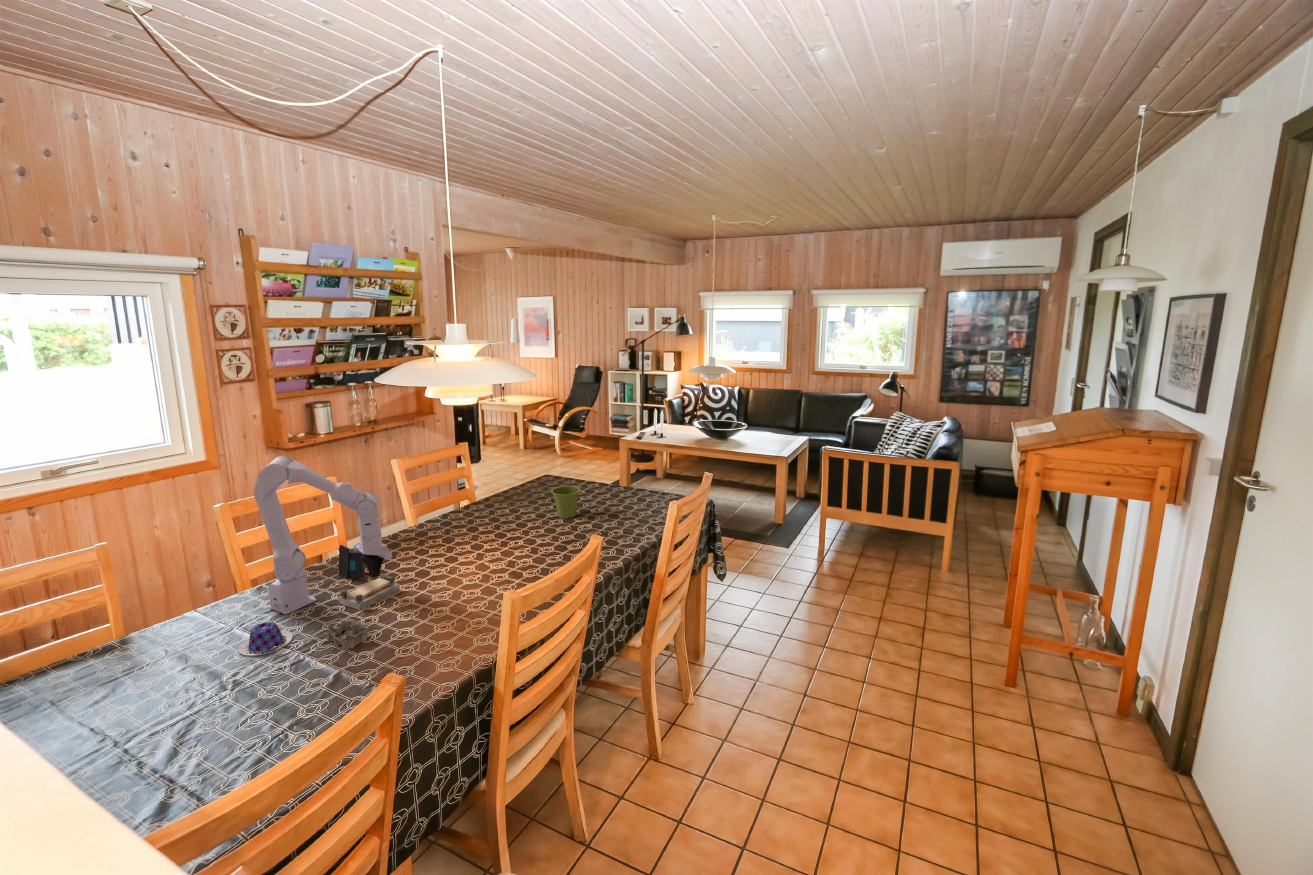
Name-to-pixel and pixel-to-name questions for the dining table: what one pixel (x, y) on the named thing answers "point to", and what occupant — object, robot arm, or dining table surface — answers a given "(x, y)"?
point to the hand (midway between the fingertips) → (375, 576)
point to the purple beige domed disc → (265, 638)
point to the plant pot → (566, 500)
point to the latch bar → (368, 588)
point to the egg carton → (347, 633)
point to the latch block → (372, 598)
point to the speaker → (350, 562)
